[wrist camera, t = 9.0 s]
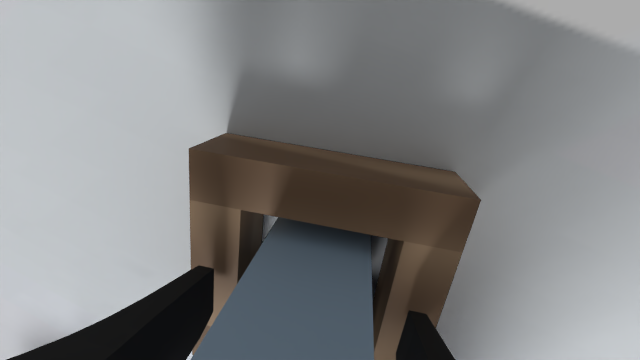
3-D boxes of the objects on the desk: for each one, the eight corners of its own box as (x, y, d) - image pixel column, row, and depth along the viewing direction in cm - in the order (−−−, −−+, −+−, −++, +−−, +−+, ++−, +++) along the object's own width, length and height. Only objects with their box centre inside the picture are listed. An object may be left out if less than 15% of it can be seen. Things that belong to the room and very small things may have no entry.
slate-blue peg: (355, 290, 15) (341, 558, 7) (278, 274, 16) (175, 510, 7) (370, 220, 14) (376, 449, 5) (286, 205, 14) (168, 396, 6)
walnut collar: (400, 348, 16) (407, 407, 13) (221, 308, 17) (192, 354, 14) (455, 171, 12) (481, 200, 10) (226, 133, 13) (188, 148, 11)
